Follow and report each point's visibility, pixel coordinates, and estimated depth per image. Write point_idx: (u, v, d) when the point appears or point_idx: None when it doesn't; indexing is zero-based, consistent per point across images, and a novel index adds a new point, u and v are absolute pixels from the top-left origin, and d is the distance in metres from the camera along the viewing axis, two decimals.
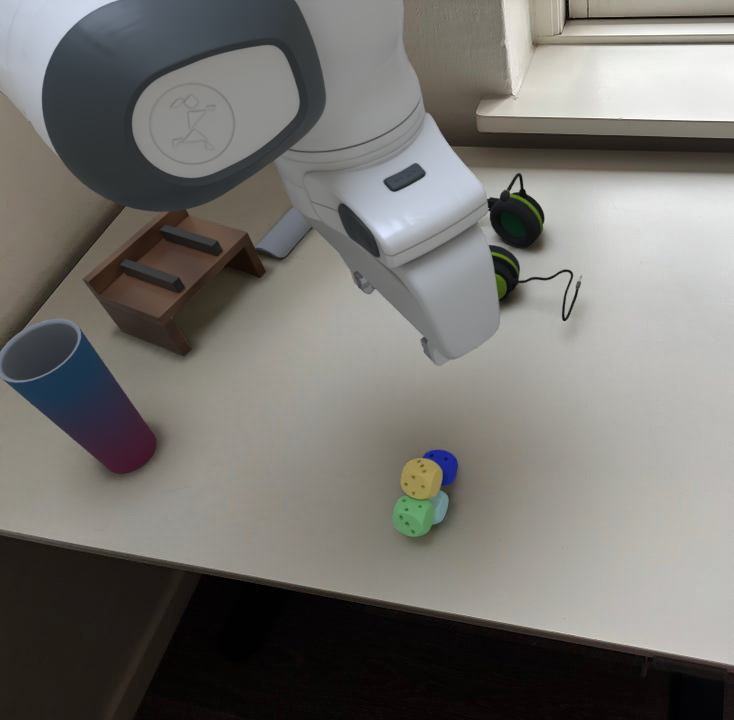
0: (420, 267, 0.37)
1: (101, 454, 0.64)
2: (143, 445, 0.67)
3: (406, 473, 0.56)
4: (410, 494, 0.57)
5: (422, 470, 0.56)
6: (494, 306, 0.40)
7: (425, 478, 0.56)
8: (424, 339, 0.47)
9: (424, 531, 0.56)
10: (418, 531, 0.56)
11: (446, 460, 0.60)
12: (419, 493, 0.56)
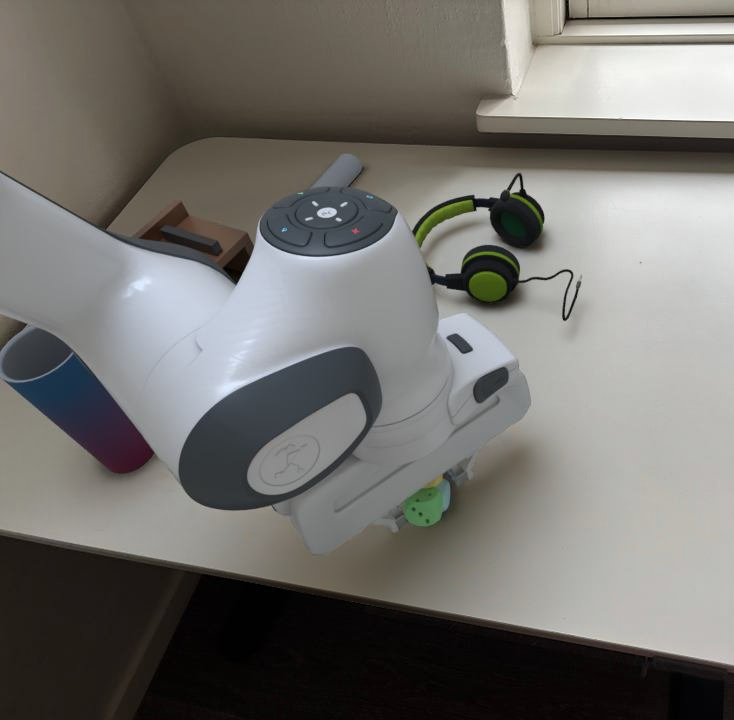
0: None
1: (101, 454, 0.64)
2: (143, 445, 0.67)
3: None
4: None
5: None
6: None
7: None
8: (457, 474, 0.58)
9: (438, 517, 0.57)
10: (432, 519, 0.56)
11: None
12: None
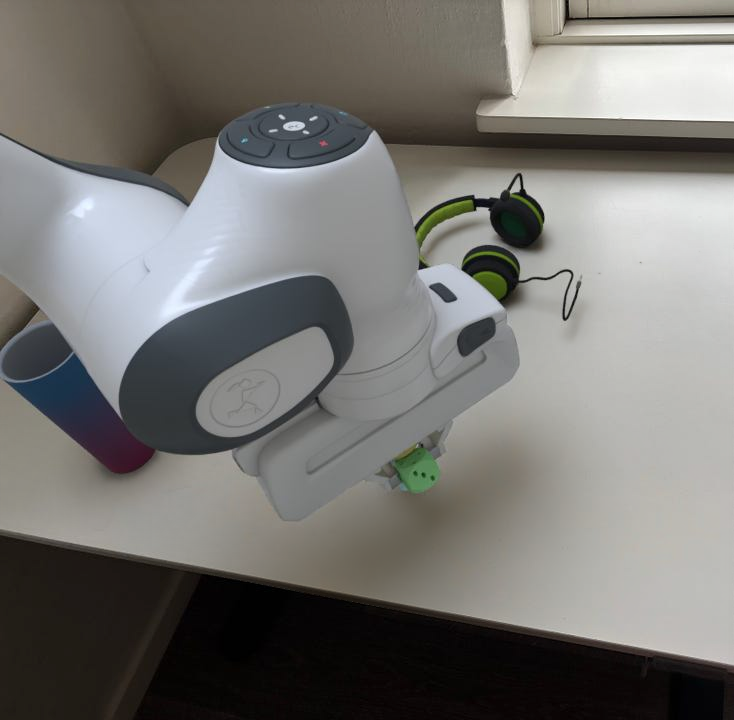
0: None
1: (101, 454, 0.64)
2: (143, 445, 0.67)
3: None
4: (401, 455, 0.54)
5: None
6: None
7: None
8: (429, 449, 0.54)
9: (439, 469, 0.54)
10: (436, 472, 0.54)
11: None
12: None
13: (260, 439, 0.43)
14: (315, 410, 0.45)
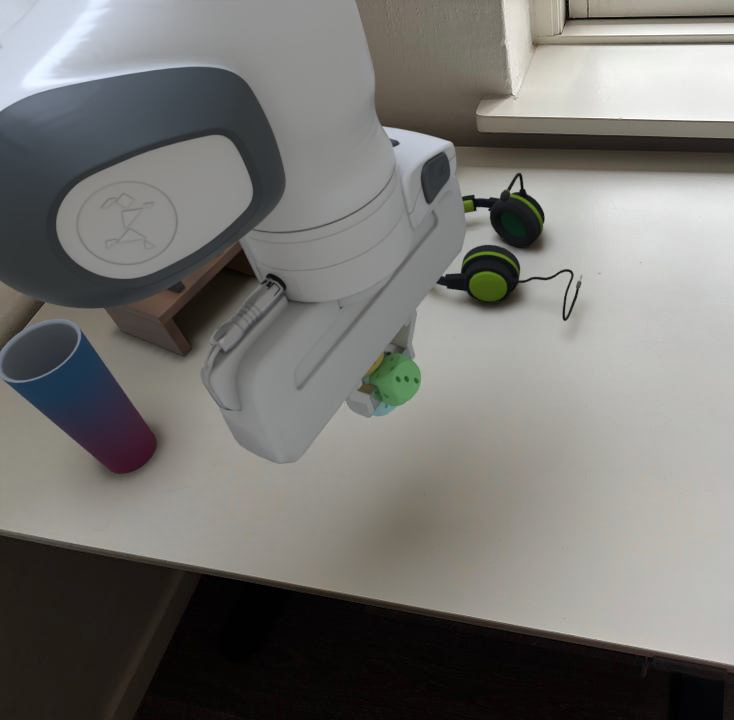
0: None
1: (101, 454, 0.64)
2: (143, 445, 0.67)
3: None
4: (373, 367, 0.46)
5: None
6: None
7: None
8: (399, 353, 0.47)
9: None
10: (418, 373, 0.47)
11: None
12: None
13: (234, 353, 0.34)
14: (285, 306, 0.36)
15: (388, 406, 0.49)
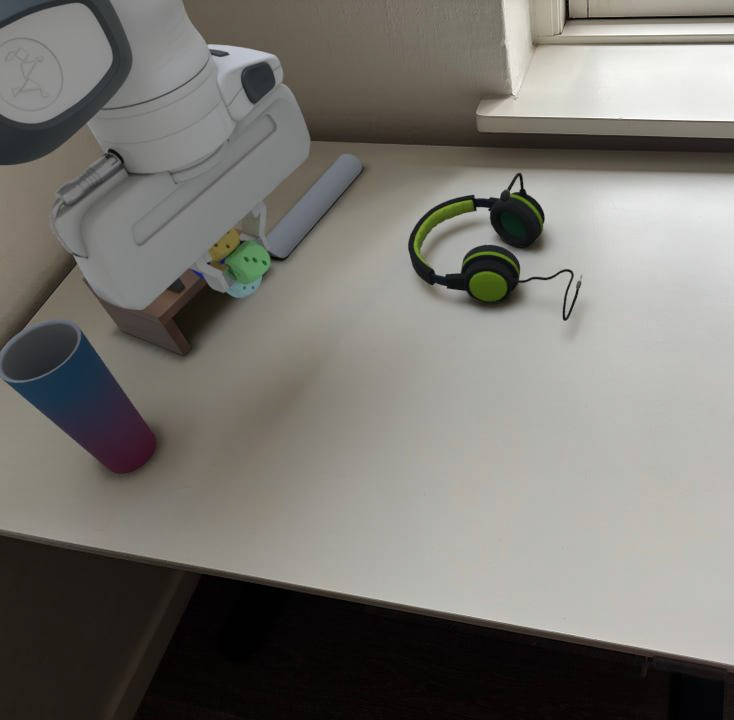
0: None
1: (101, 454, 0.64)
2: (143, 445, 0.67)
3: None
4: (227, 250, 0.55)
5: None
6: None
7: None
8: None
9: (268, 255, 0.56)
10: (266, 256, 0.56)
11: None
12: (231, 240, 0.56)
13: (76, 207, 0.43)
14: (124, 176, 0.46)
15: (246, 288, 0.58)
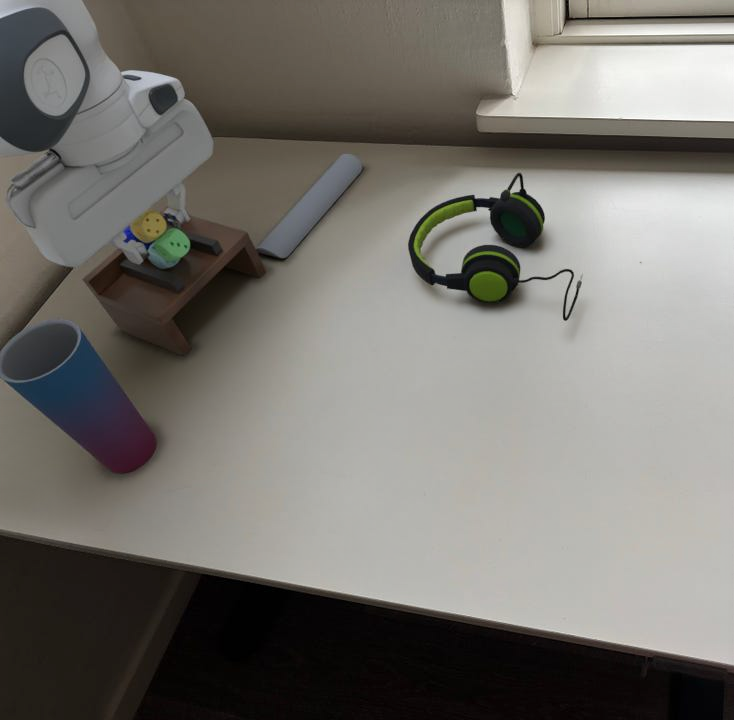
0: None
1: (101, 454, 0.64)
2: (143, 445, 0.67)
3: (141, 222, 0.72)
4: (157, 235, 0.73)
5: (145, 214, 0.73)
6: None
7: (153, 213, 0.73)
8: (175, 214, 0.74)
9: (188, 240, 0.75)
10: (187, 242, 0.74)
11: None
12: (160, 227, 0.73)
13: (25, 190, 0.61)
14: (61, 168, 0.63)
15: (169, 262, 0.76)
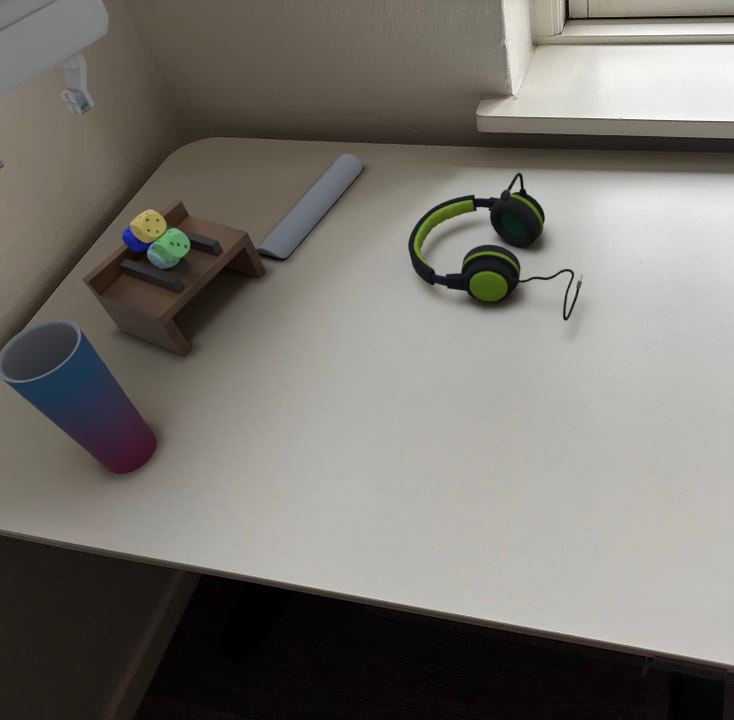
0: None
1: (101, 454, 0.64)
2: (143, 445, 0.67)
3: (141, 222, 0.72)
4: (157, 235, 0.73)
5: (145, 214, 0.73)
6: None
7: (153, 213, 0.73)
8: (73, 94, 0.60)
9: (188, 240, 0.75)
10: (187, 242, 0.74)
11: None
12: (160, 227, 0.73)
13: None
14: None
15: (169, 262, 0.76)
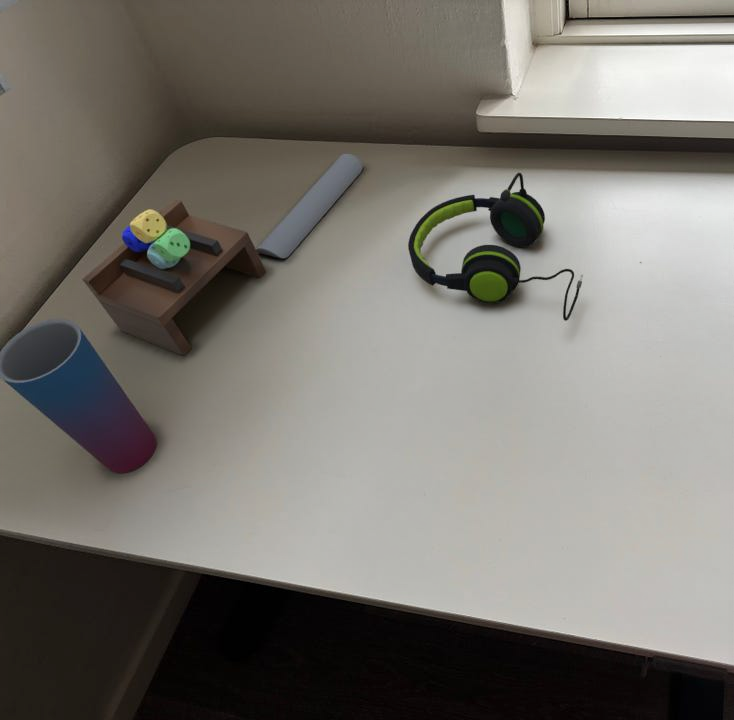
0: None
1: (101, 454, 0.64)
2: (143, 445, 0.67)
3: (141, 222, 0.72)
4: (157, 235, 0.73)
5: (145, 214, 0.73)
6: None
7: (153, 213, 0.73)
8: None
9: (188, 240, 0.75)
10: (187, 242, 0.74)
11: None
12: (160, 227, 0.73)
13: None
14: None
15: (169, 262, 0.76)
